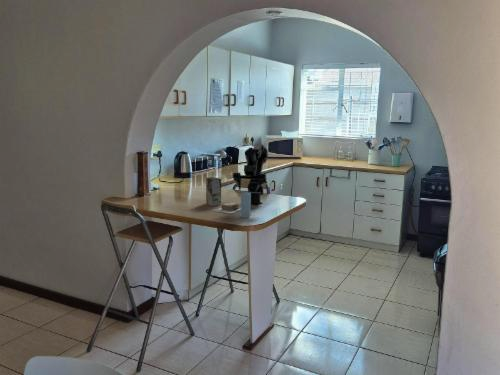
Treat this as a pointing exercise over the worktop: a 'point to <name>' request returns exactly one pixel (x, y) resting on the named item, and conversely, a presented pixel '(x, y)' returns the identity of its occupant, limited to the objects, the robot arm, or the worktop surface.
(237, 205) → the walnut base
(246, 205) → the pillar
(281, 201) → the worktop surface
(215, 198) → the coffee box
